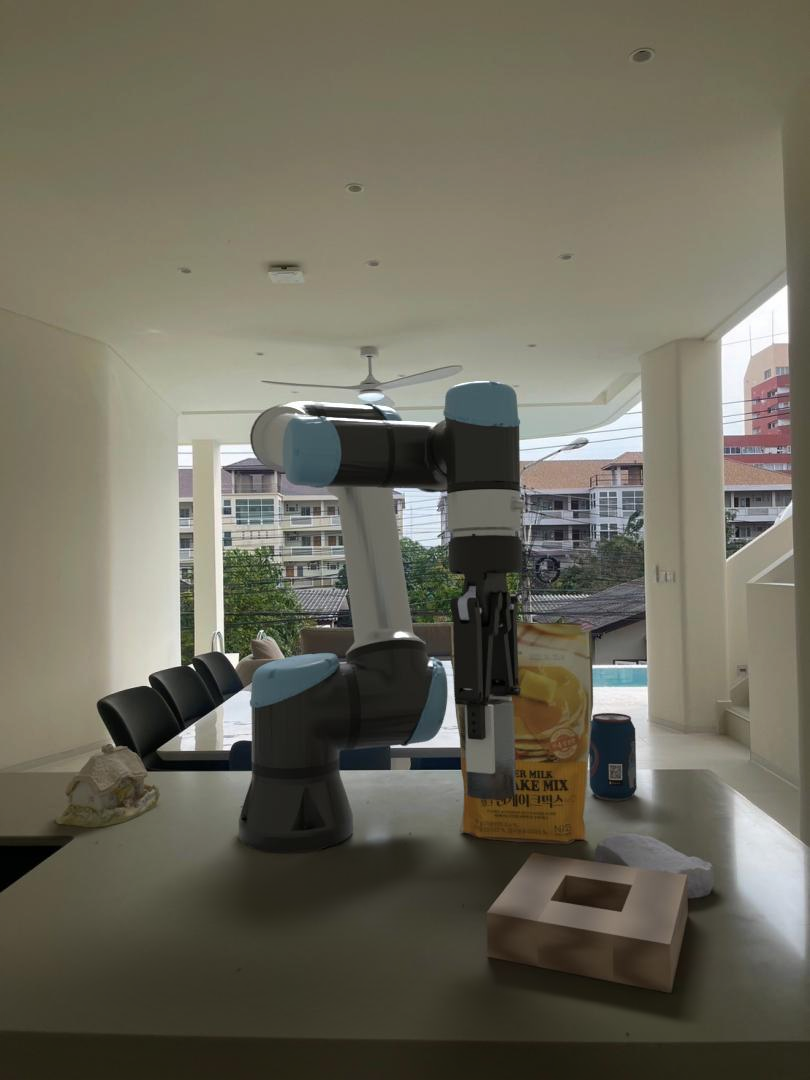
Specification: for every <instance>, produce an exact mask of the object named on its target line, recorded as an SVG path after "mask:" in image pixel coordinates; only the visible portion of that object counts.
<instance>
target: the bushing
mask: <svg viewBox="0 0 810 1080" xmlns="http://www.w3.org/2000/svg"><path fill="white" fill-rule="evenodd" d="M489 705H493V707H494V745H495V773H493V774H489V773H479V772H468V771H467V770H466V793H467V795H469V796H471V797H474V798H479V799H505V798H509V797H512V796H514V795H516V768H515V735H514V702H513V701H510V700H503V699H490V701H489ZM464 723H465V705H464ZM465 760H466V729H465Z"/></svg>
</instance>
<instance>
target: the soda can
mask: <svg viewBox="0 0 810 1080" xmlns="http://www.w3.org/2000/svg"><path fill="white" fill-rule="evenodd" d="M591 723H592V729H591V737H590V750H589V759H588V770H589V787H590V789H591V791H592V793H593V794H594V797H596V798H599V799H601V800H604V801H605V800H606V801H613V802H614V801H615V802H616V801H617V802H619V801H627V800H630V799H632V798H633V796H634V795H635V792H636V791H637V788H638V787H637V752H636V751H637V749H636V747H637V746H636V745H637V743H636V728H635V726H634V723H633V721H632V717H631V716H630V715H628V714H625V713H624V714H623V713H615V712H603V713H602V712H601V713H595V714H592V718H591Z"/></svg>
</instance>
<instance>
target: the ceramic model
mask: <svg viewBox="0 0 810 1080" xmlns="http://www.w3.org/2000/svg"><path fill="white" fill-rule="evenodd" d="M100 749H101V751H99V752H96V753H94V754H93V755H91V756H90V758H89V759H88V761H87V762H86V763H85V764H84V765H83V767H82V768H80V770H79V771H78V772H77V774H75V775H74V776H73V777H72V779H71V780H70V781H69V782H68V784H67V787H66V789H65V792H64V794H65V795H66V797H67V807H66V808H65V809H64V810H62V811H61V812H59V815H58V816H57V818H56V819H55V822H56V824H58V825H68V826H69V825H72V826H79V827H87V828H89V827H90V828H98V827H106V826H113V825H116V824H121V823H126V822H128V821H131V820H133V819H134V818H136V817H139V816H141V815H143V814H144V813H147V812H148V811H150V810H152V809H154V808H155V807H156V805H157V804H158V801H159V799H160V796H161V793H160V786H158V784H148V783H147V784H146V783H145V778H146V777H149V774H148V771H147V769H146V767H145V765H144V763H143V761H142V759H141V757H140V756H139V755H138V753H136V752H135V751H134V752H133V751H132V750H131V749H130V748H128V746H123V745H119V746H115V747H114V745H113V743H112V744H111V743H107V744H106V745H102V746H101V747H100Z"/></svg>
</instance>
